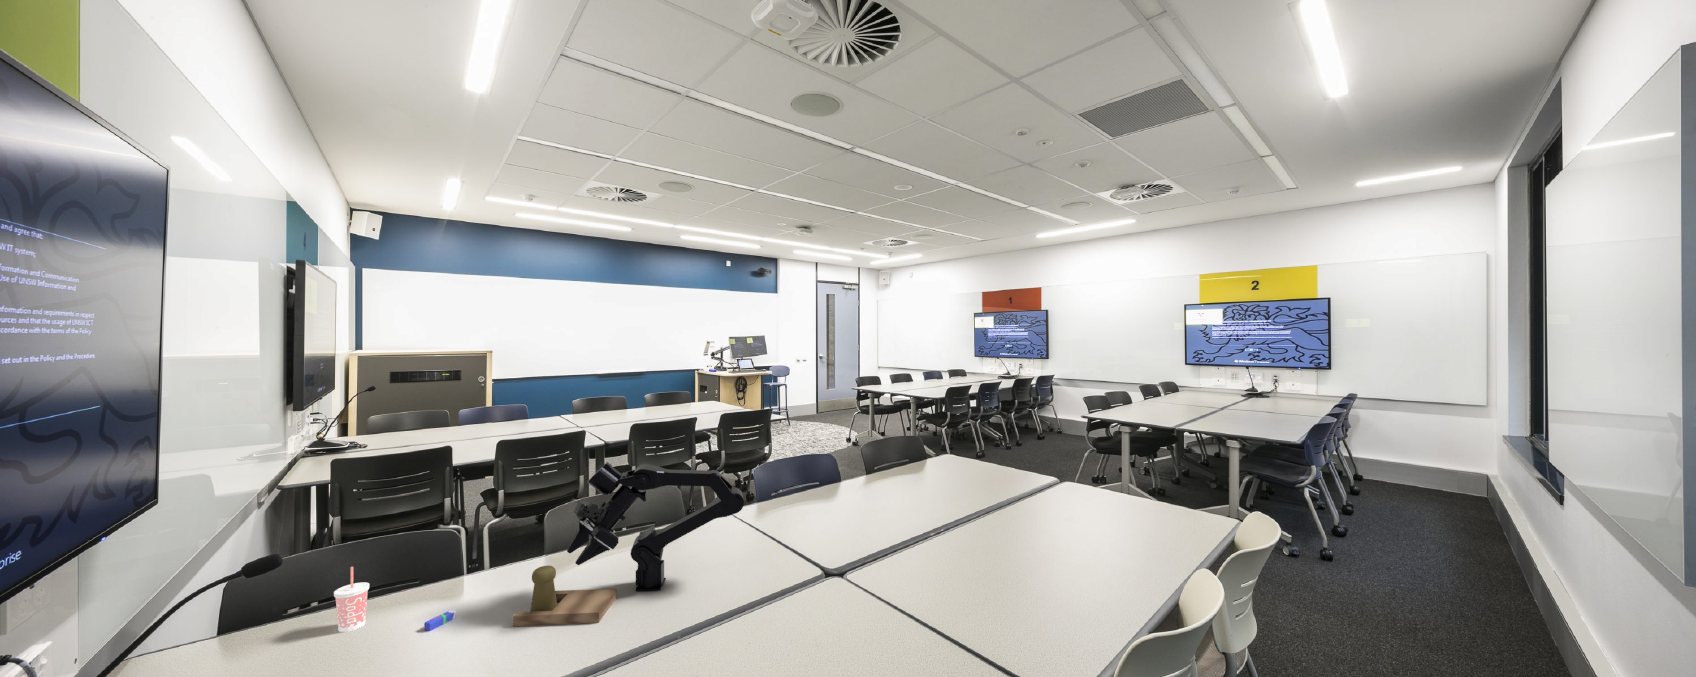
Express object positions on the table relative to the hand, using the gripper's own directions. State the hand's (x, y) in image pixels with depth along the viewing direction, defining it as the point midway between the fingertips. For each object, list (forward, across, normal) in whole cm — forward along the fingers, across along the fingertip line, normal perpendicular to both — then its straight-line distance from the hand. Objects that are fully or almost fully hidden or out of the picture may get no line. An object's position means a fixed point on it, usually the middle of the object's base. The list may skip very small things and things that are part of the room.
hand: (572, 558), depth 133 cm
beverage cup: (+38, -21, -22) cm, 49 cm away
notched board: (+10, +3, +7) cm, 12 cm away
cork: (+13, 0, +4) cm, 13 cm away
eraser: (+27, -10, -10) cm, 31 cm away
